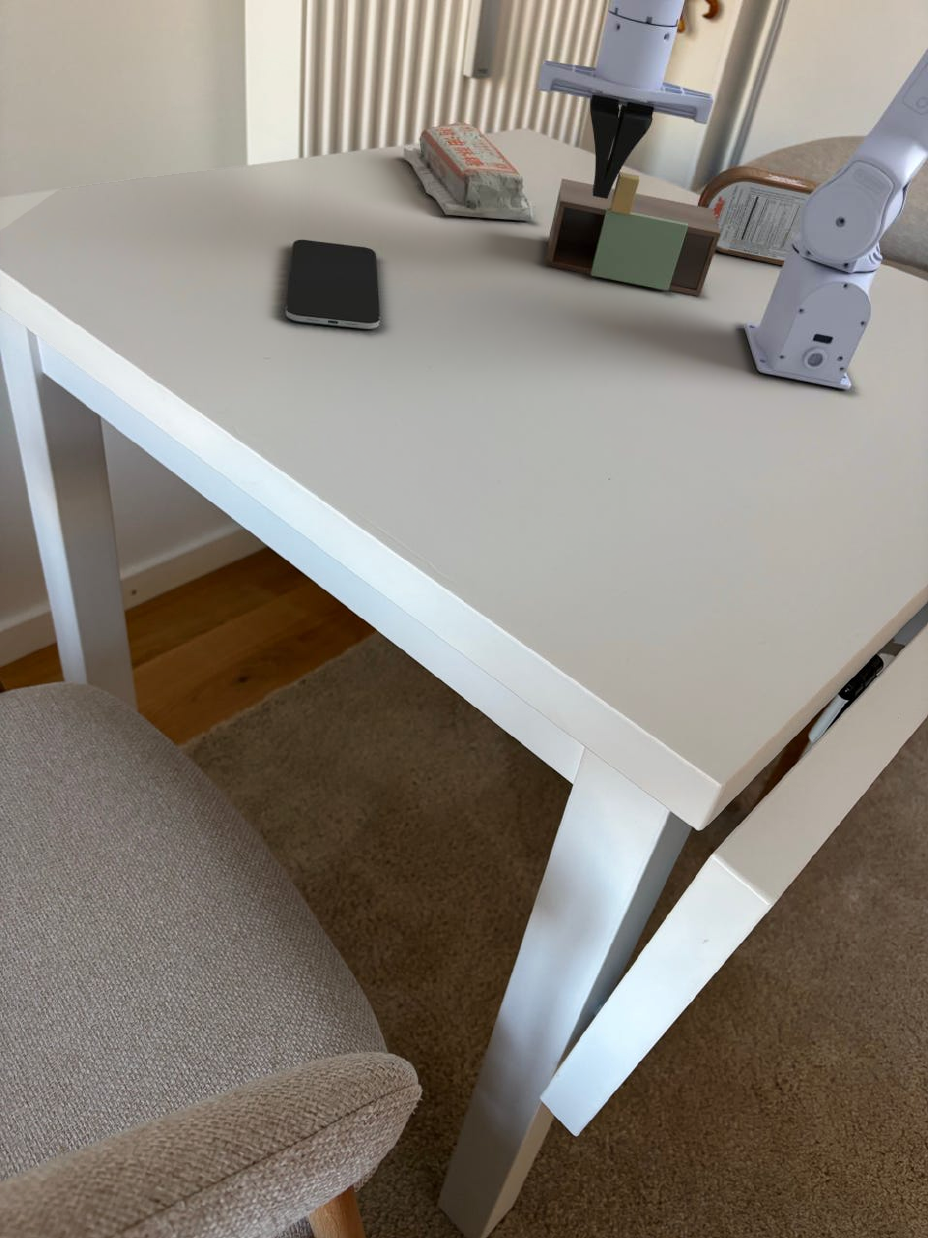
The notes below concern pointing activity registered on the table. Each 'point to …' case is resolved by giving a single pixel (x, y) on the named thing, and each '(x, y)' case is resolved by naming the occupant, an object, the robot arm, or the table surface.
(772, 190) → the tin
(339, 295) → the smartphone
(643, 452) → the table surface
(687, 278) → the cupboard
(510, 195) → the packaged product
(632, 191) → the sliding door
